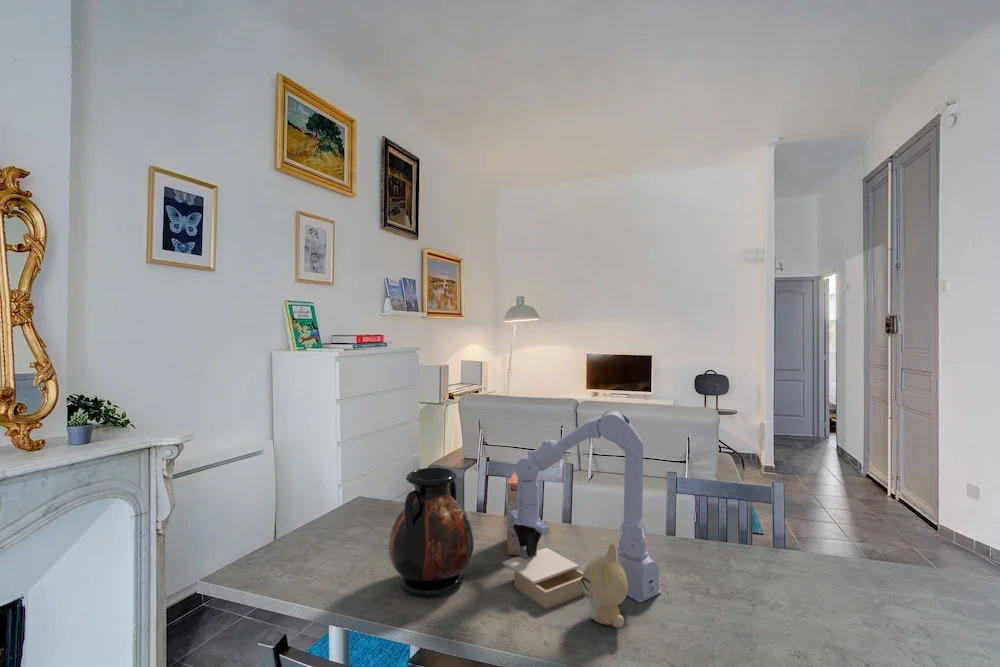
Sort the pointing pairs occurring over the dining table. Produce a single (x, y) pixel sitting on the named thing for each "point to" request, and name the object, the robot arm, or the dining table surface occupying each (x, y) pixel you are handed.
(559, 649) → the dining table surface
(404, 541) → the amphora vase
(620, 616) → the kitten
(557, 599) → the carton
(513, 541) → the cracker box
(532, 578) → the carton lid
